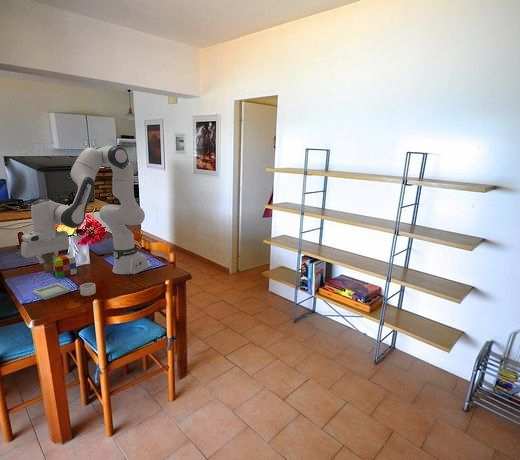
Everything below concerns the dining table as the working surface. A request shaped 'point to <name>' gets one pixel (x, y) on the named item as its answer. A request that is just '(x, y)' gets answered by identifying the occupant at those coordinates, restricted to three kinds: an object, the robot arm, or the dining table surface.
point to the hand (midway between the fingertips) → (48, 261)
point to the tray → (51, 291)
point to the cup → (87, 289)
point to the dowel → (48, 263)
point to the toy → (64, 265)
